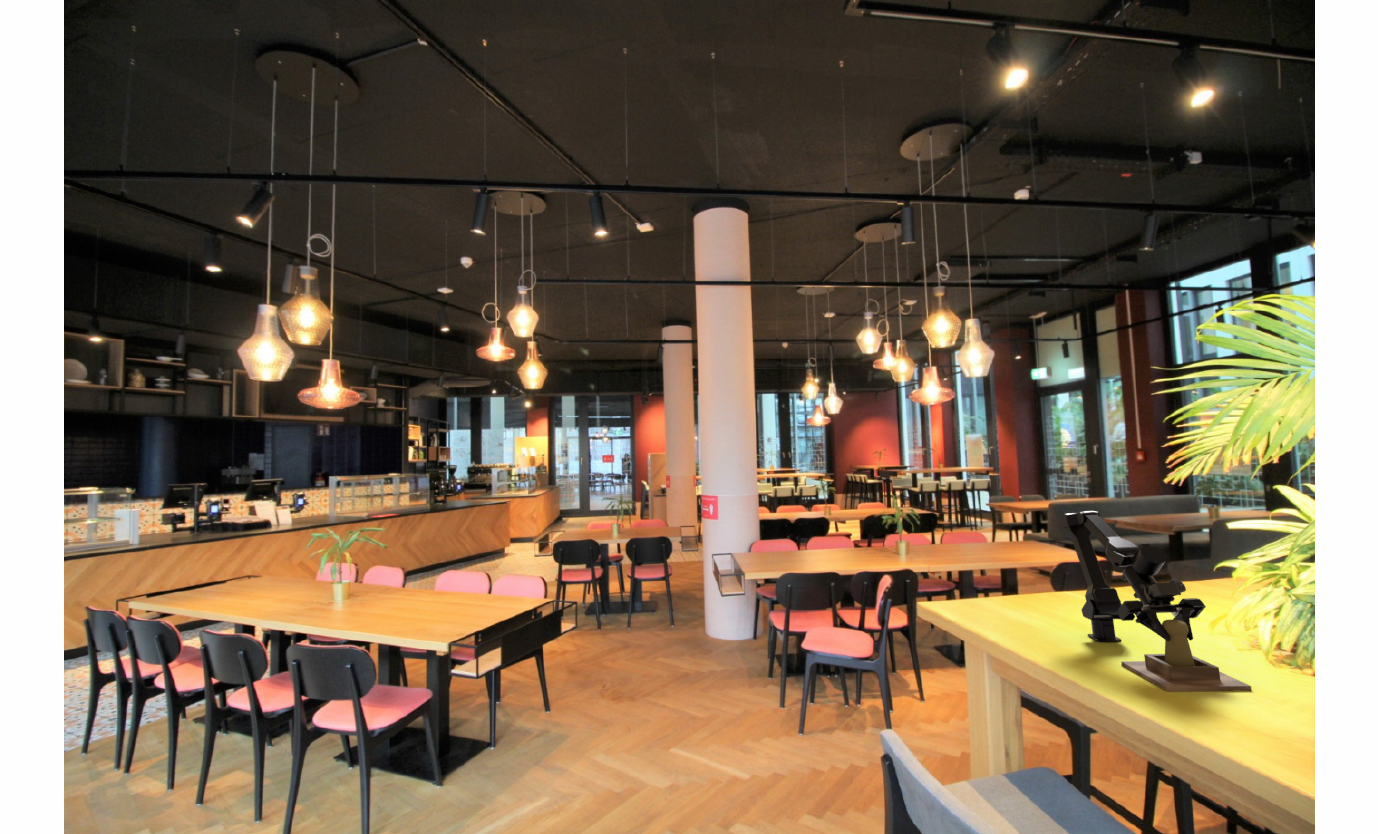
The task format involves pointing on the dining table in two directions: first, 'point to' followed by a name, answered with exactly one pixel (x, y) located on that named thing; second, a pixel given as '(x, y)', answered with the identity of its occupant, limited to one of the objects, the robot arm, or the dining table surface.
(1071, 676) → the dining table surface
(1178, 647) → the cork
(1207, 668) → the holder board
